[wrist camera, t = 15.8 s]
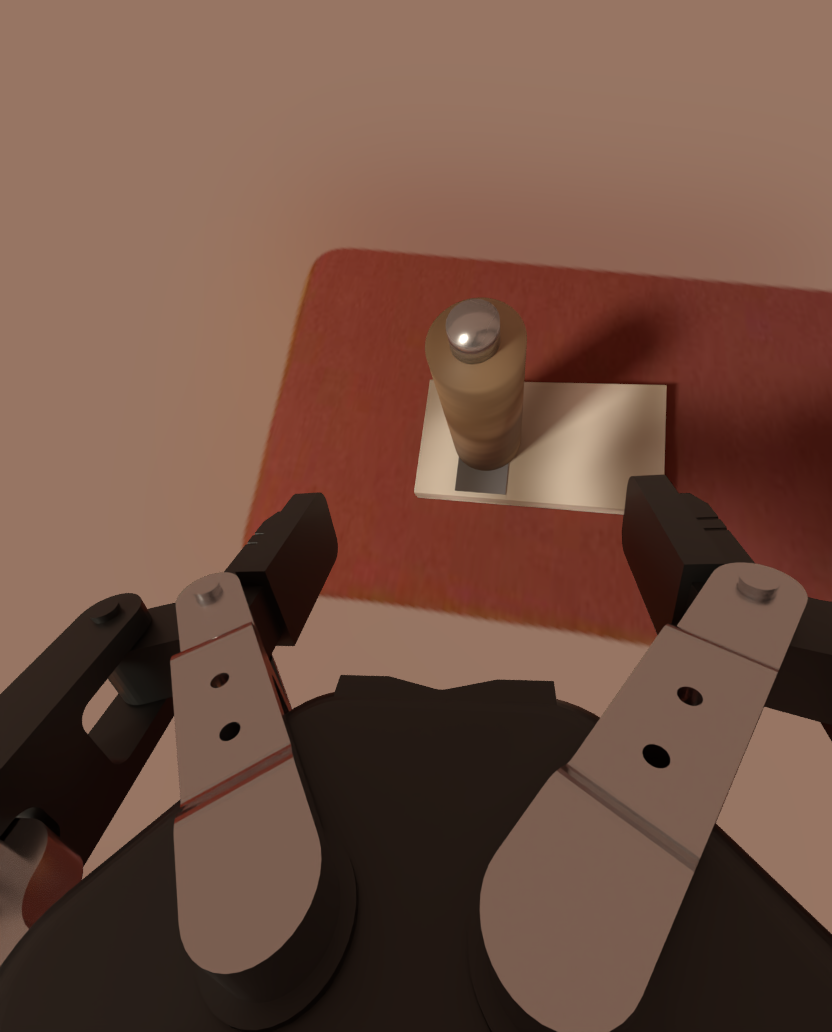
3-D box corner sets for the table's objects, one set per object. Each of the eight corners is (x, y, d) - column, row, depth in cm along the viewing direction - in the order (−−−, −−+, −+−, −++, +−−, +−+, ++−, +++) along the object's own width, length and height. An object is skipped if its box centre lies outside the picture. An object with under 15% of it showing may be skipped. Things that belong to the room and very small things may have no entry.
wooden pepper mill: (521, 408, 27) (529, 271, 17) (520, 471, 26) (526, 369, 16) (456, 409, 28) (423, 280, 17) (452, 470, 27) (415, 373, 17)
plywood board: (660, 395, 27) (667, 384, 26) (656, 517, 26) (663, 511, 24) (433, 388, 30) (429, 379, 29) (417, 497, 29) (413, 491, 27)
